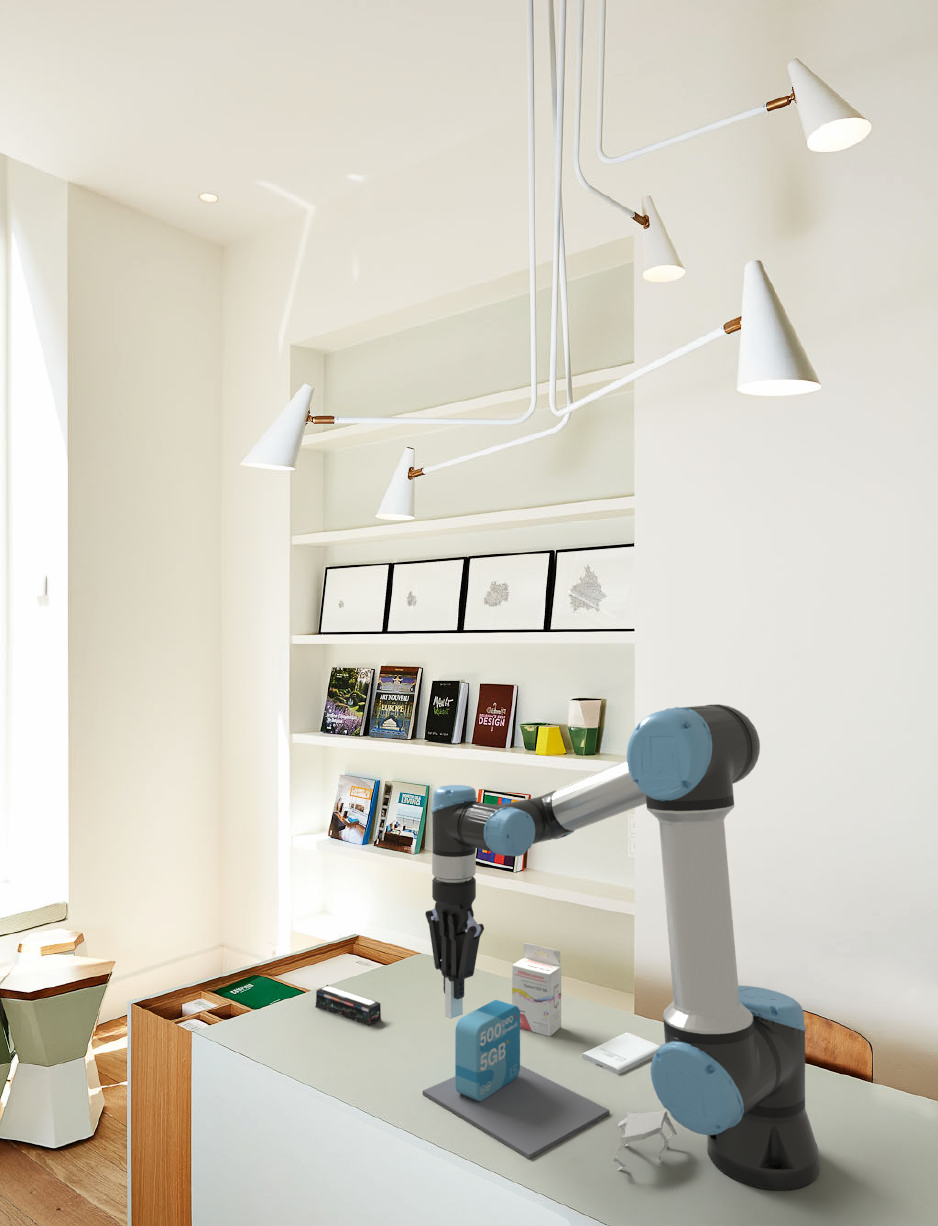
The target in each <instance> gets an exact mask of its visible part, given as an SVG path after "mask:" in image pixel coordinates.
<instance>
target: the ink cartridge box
mask: <svg viewBox="0 0 938 1226" xmlns="http://www.w3.org/2000/svg"><path fill="white" fill-rule="evenodd" d="M537 952H543V953H544V954H547V955H548V956H547V955H542V954H537ZM523 956H524V957H522V958H521V959H519V960H518V961H516V962H515V963H513V964H512V969H511V974H512V975H511V1005H514V1006H517V1007H518V1008H519V1010H520V1029H523V1030H526V1031H529V1032H533V1033H536V1034H539V1035H543V1036H548V1037H551V1036H552V1035H553V1034H555V1033H556V1032H557V1031H558V1030H560V1029H561V1026H562V966H561V952H560V950H558V949H555V948H551V947H548V946H546V947H545V946H542V945H537V944H533V943H528V942H524V943H523Z"/></svg>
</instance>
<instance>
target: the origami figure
mask: <svg viewBox="0 0 938 1226" xmlns="http://www.w3.org/2000/svg"><path fill="white" fill-rule="evenodd" d="M664 1123H665V1124H666V1125H667V1127H668V1128H669V1129H670V1131H671V1132H672V1134H670V1135H669V1136H668V1137H666V1136H665V1134H664V1133H663V1125H664ZM624 1127H625V1129H624ZM618 1129H619V1131H620V1133H621V1135H622V1136H621V1143H620V1145H619V1147H618V1148H617V1150H616V1151H615V1153H614V1154H613V1156H612V1157H611V1158H610V1160H612V1162H615V1163H616V1164H618V1165H619V1166H620V1167H618V1168H617V1169H616V1172H617V1171H618V1172H620V1171H621V1170H623V1169H625V1168H626V1164H624V1163H623V1162H622V1161H621V1160H619V1159H618V1158H617V1157H618V1155H619V1154H620V1153H621V1151H622V1150H623V1149H624V1148H625V1147H630V1146H631V1143H632V1142H633V1143H634V1142H638V1141H644V1140H645V1139H649V1138H650V1137H653V1136H656V1135H657V1134H659V1135H660V1136H661V1138H662V1139H661V1140H662V1144H663V1146H662V1149H661V1150H660V1151H659V1153H658V1154H657V1160H658V1161H659V1163H663V1159H662V1157H661V1155H662V1153H663V1152H664V1151H665V1150H666V1148H669V1149H670V1145H669V1140H670V1139H673V1138H674V1137H675V1136H677V1135H678V1133H677V1131H676V1129H675V1126H674V1125H673V1123H672V1121H671V1120H670V1118H669V1116H668V1110H663V1111H651V1112H638V1113H637V1112H636V1113H635V1112H633V1113H631V1112H628V1111H626V1117H625V1118H624V1119H622V1120H621V1121H619V1122H618Z"/></svg>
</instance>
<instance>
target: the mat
mask: <svg viewBox="0 0 938 1226" xmlns="http://www.w3.org/2000/svg"><path fill="white" fill-rule="evenodd" d="M422 1095H423V1096H424V1097H426V1098H428V1099H429V1100H431V1101H433V1102H434V1103H435V1104H438V1105H440V1106H441V1107H443V1108H444V1109H446V1110H447V1111H449V1112H451V1113H452V1114H454V1115H456V1116H457V1117H459V1118H461V1119H462V1120H464V1121H465V1122H467V1123H468V1124H470V1125H472V1126H474V1127H475V1128H477V1129H479V1130H480V1131H481V1132H484V1133H486V1134H487V1135H489V1136H490V1137H492V1138H493V1139H495V1140H497V1142H500V1143H502V1144H503V1145H504V1146H507V1147H509V1148H510V1149H512V1150H513V1151H515V1152H517V1153H518V1154H520V1155H522V1156H523V1157H525V1158H526V1159H528V1160H531V1159H532V1158H533V1157H536V1156H537V1155H539V1154H541V1153H543V1152H544V1151H547V1150H548V1149H550V1148H552V1147H553V1146H556V1145H557V1144H559V1143H561V1142H562V1141H564V1140H565V1139H568V1138H570V1137H571V1136H573V1135H575V1134H576V1133H579V1132H580V1131H581V1130H583V1129H585V1128H587V1127H589V1126H590V1125H592V1124H594V1123H596V1122H597V1121H600V1120H601V1119H603V1118H604V1117H607V1116H608V1115H610V1114H611V1113H610V1109H608V1108H606V1107H605V1106H603V1105H600V1104H598V1102H597V1103H596V1102H595V1101H593V1100H590V1099H589V1098H586V1097H585V1096H582V1095H581V1094H579V1093H577V1092H575V1091H573V1090H571V1089H568V1088H567V1087H565V1086H563V1085H561V1084H559V1083H558V1082H555V1081H553V1080H551V1079H549V1078H547V1077H545V1076H543V1075H541V1074H539V1073H538V1072H535V1071H533V1070H531V1069H529V1068H527V1067H525V1066H523V1065H522V1064H520V1070H519V1074H518V1076H517V1077H516V1078H515V1079H514V1080H513V1081H511V1082H510V1083H508V1084H507V1085H505V1086H504V1087H502V1088H501V1089H499V1090H498V1091H496V1092H494V1093H493V1094H491V1095H490V1096H488V1097H487V1098H485V1099H484V1100H482V1101H477V1100H475V1099H472V1098H470V1097H467V1096H465V1095H463V1094H460V1093H458V1092H457V1091H456V1088H455V1076H453V1077H451V1078H448V1079H446V1080H444V1081H442V1082H438V1083H437V1084H434V1085H432V1086H430V1087H428V1088H425V1089H423V1090H422Z"/></svg>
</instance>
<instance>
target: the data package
mask: <svg viewBox="0 0 938 1226" xmlns="http://www.w3.org/2000/svg"><path fill="white" fill-rule="evenodd" d="M454 1032H455V1033H454V1034H455V1035H454V1036H455V1037H454V1038H455V1045H454V1047H455V1052H454V1053H455V1055H454V1057H455V1058H454V1059H455V1062H454V1065H455V1067H454V1068H455V1072H454V1073H455V1075H454V1077H455V1088H456V1091H457V1092H458V1093H460V1094H463V1095H465V1096H467V1097H470V1098H472V1099H475V1100H477V1101H482V1100H484V1099H485V1098H487V1097H488V1096H490V1095H491V1094H493V1093H494V1092H496V1091H498V1090H499V1089H501V1088H502V1087H504V1086H505V1085H507V1084H508V1083H510V1082H511V1081H513V1080H514V1079H515V1078H516V1077H517V1076H518V1074H519V1070H520V1065H521V1028H520V1010H519V1008H518V1007H517V1006H514V1005H512V1003H508V1002H505V1001H501V1000H498V999H494V1000H492V1001H490V1002H488V1003H486V1004H485V1005H482V1006H481V1007H479V1008H477V1009H475V1010H473V1011H471V1012H469V1013H468V1014H467V1013H466V1014H465V1015H463V1016H462V1017H460V1018H459V1019H458V1021H457V1022H456V1025H455V1031H454Z"/></svg>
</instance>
